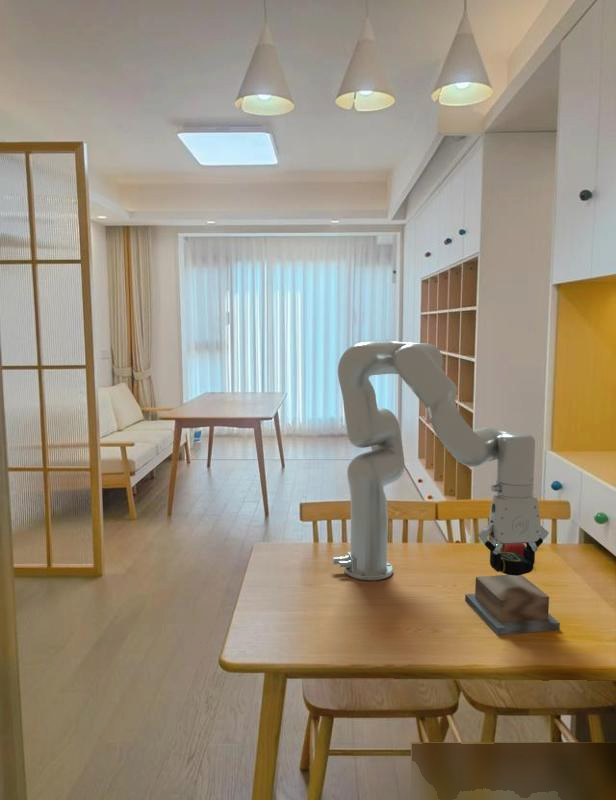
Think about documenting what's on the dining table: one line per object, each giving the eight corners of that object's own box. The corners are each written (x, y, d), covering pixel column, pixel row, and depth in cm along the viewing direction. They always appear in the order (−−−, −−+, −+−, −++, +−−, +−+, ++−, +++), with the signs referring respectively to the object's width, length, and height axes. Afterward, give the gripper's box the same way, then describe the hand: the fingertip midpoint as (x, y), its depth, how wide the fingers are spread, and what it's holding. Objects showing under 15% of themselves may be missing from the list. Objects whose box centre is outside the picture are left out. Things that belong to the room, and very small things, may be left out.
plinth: (497, 635, 122) (498, 605, 121) (465, 600, 137) (465, 573, 137) (559, 629, 124) (561, 600, 123) (520, 596, 140) (521, 569, 139)
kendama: (479, 547, 175) (504, 562, 157) (482, 526, 176) (507, 539, 157) (504, 551, 176) (531, 567, 158) (507, 530, 176) (535, 543, 158)
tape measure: (533, 577, 127) (534, 560, 127) (505, 580, 126) (506, 563, 125) (515, 565, 134) (516, 549, 133) (488, 567, 132) (489, 551, 132)
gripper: (485, 496, 122) (482, 578, 124) (561, 492, 125) (558, 572, 127) (469, 486, 130) (467, 564, 132) (542, 483, 132) (539, 559, 134)
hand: (512, 567), depth 129 cm, fingers closed on tape measure, 7 cm apart
